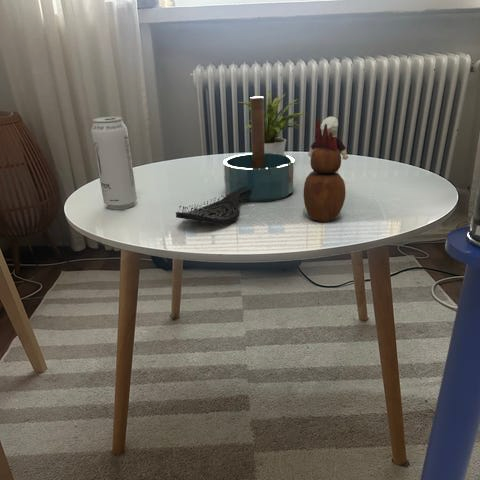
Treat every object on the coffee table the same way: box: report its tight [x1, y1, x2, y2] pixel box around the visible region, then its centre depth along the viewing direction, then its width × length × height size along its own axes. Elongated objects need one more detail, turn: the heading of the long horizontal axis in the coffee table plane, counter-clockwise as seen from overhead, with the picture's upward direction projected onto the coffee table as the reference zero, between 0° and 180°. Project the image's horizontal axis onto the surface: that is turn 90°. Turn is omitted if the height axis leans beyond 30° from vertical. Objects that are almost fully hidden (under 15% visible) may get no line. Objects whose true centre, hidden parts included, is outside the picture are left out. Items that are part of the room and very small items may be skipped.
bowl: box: [222, 153, 295, 203], centre depth 94 cm, size 13×13×6 cm
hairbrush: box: [175, 188, 251, 226], centre depth 85 cm, size 8×4×25 cm
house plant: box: [239, 89, 307, 155], centre depth 106 cm, size 14×14×16 cm
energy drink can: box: [90, 116, 138, 211], centre depth 87 cm, size 6×6×15 cm
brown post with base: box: [249, 96, 265, 169], centre depth 93 cm, size 5×5×16 cm
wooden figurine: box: [302, 119, 346, 222], centre depth 77 cm, size 7×6×15 cm
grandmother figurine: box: [307, 115, 349, 174], centre depth 95 cm, size 8×4×13 cm, turn 80°
